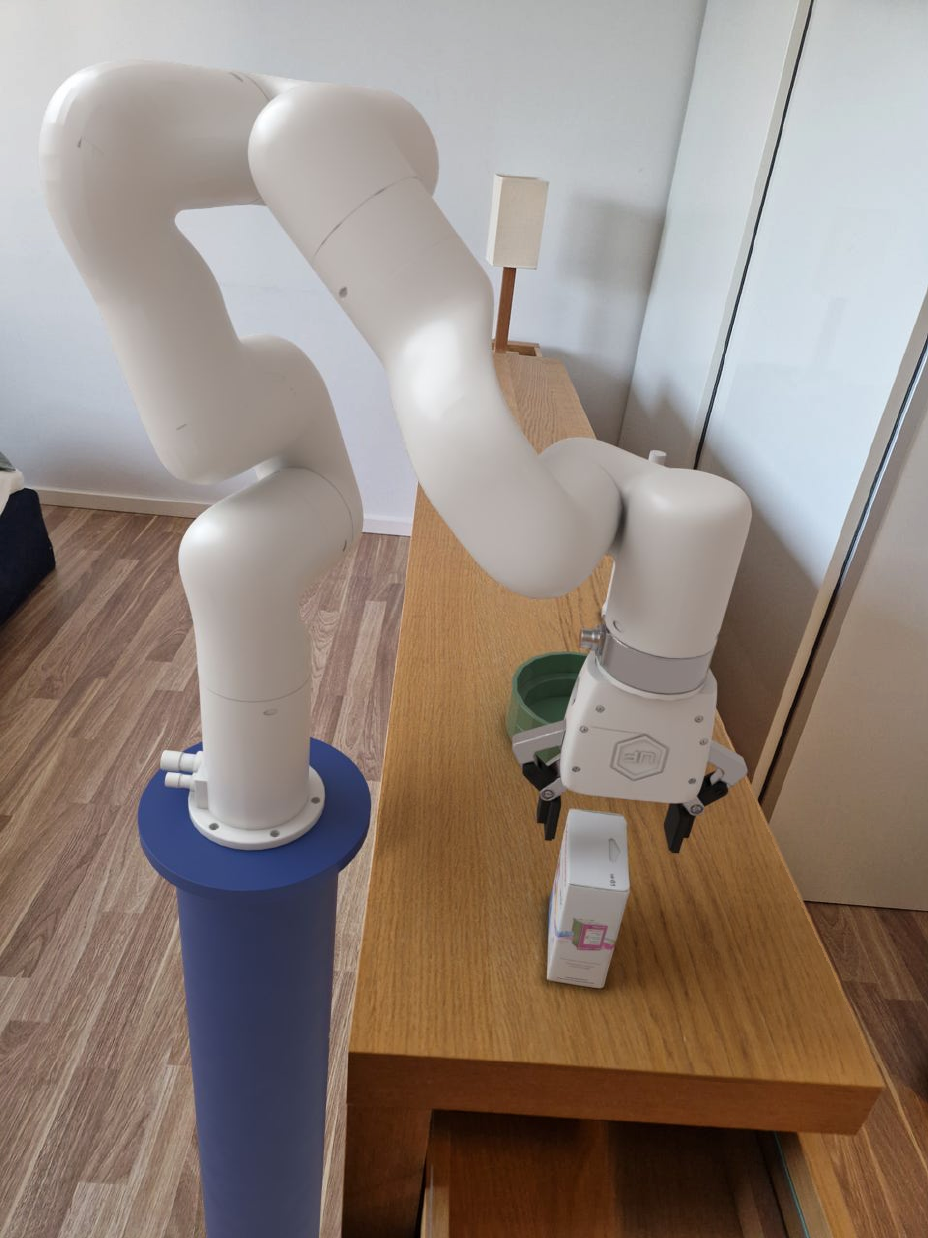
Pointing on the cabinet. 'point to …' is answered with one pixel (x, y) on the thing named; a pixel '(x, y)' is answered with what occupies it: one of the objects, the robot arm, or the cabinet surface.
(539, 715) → the bowl
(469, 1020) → the cabinet surface
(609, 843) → the ink box
